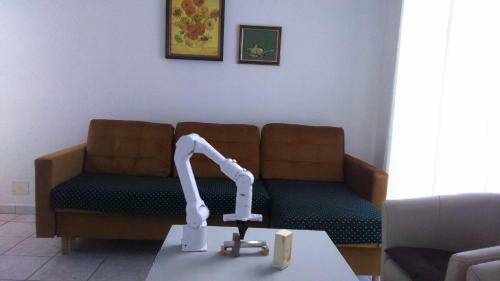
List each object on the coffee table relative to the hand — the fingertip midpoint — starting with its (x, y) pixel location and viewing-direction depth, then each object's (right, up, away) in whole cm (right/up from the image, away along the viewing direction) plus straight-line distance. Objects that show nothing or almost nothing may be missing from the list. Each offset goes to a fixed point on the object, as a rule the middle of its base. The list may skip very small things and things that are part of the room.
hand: (241, 238), depth 132 cm
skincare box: (+15, -8, -7) cm, 18 cm away
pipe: (+1, -6, +1) cm, 6 cm away
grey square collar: (-2, -6, 0) cm, 6 cm away
